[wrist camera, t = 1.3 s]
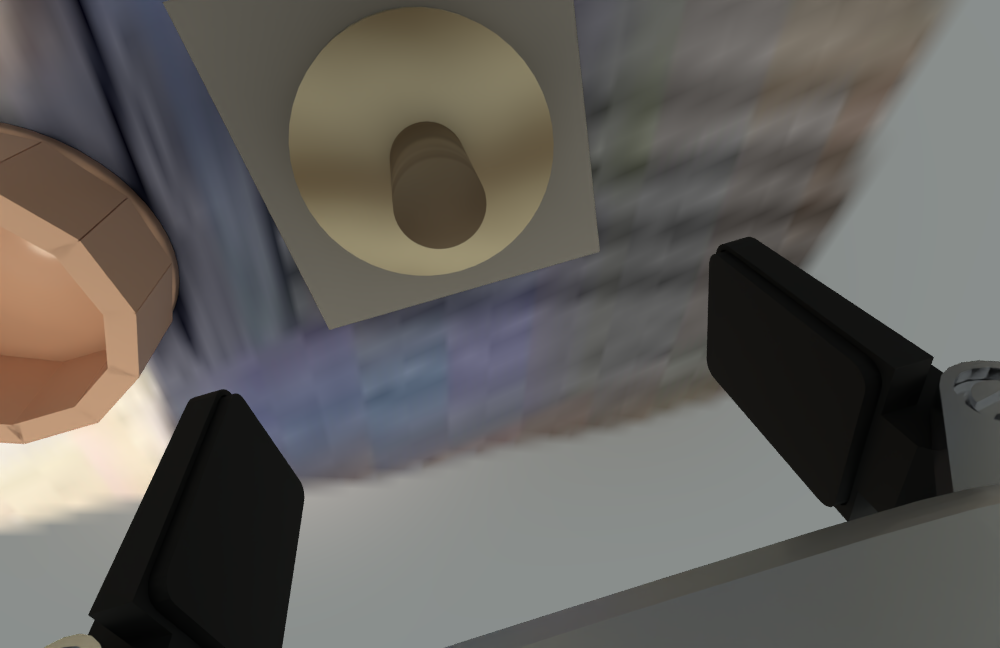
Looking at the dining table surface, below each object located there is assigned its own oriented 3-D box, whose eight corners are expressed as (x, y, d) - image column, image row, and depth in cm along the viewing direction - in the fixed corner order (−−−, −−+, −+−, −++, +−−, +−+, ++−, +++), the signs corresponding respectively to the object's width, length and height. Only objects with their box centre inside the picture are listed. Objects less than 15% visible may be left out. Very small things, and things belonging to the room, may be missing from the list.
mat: (168, 1, 18) (162, 2, 17) (557, -99, 18) (562, -101, 18) (330, 323, 26) (329, 329, 25) (595, 246, 26) (599, 251, 26)
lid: (242, 48, 18) (190, 75, 13) (522, -27, 19) (575, -27, 14) (351, 289, 24) (344, 371, 19) (561, 229, 25) (608, 294, 20)
